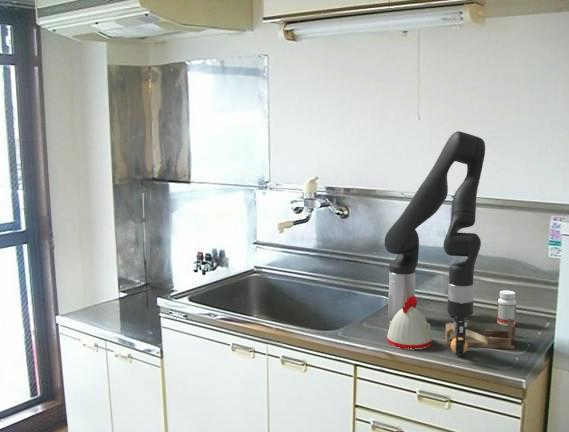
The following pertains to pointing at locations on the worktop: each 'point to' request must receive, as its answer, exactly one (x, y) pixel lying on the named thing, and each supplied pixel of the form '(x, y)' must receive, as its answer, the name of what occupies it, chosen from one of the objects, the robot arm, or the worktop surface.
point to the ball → (453, 345)
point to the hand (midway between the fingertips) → (459, 352)
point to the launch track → (486, 337)
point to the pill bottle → (506, 308)
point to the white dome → (409, 327)
